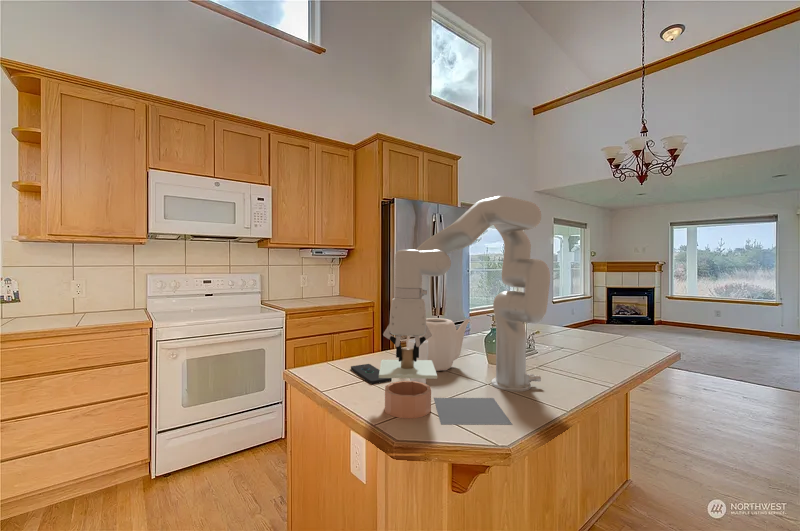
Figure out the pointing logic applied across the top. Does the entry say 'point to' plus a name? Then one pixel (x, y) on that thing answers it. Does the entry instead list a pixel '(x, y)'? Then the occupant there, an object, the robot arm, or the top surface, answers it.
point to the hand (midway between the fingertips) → (407, 359)
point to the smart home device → (369, 373)
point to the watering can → (444, 342)
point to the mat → (470, 411)
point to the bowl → (407, 399)
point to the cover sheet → (407, 373)
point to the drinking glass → (420, 356)
